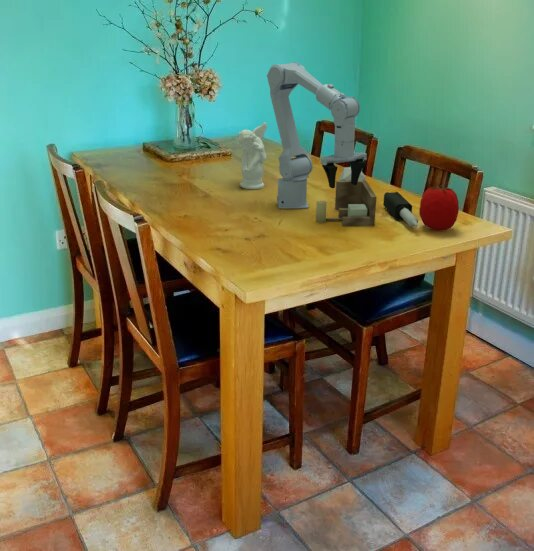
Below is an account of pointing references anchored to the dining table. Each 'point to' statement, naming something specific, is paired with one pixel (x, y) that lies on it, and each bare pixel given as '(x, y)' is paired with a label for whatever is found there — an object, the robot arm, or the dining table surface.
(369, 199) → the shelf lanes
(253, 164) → the cherub figurine
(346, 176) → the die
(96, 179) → the dining table surface
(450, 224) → the red apple
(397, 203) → the black and grey rod
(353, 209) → the pull block
